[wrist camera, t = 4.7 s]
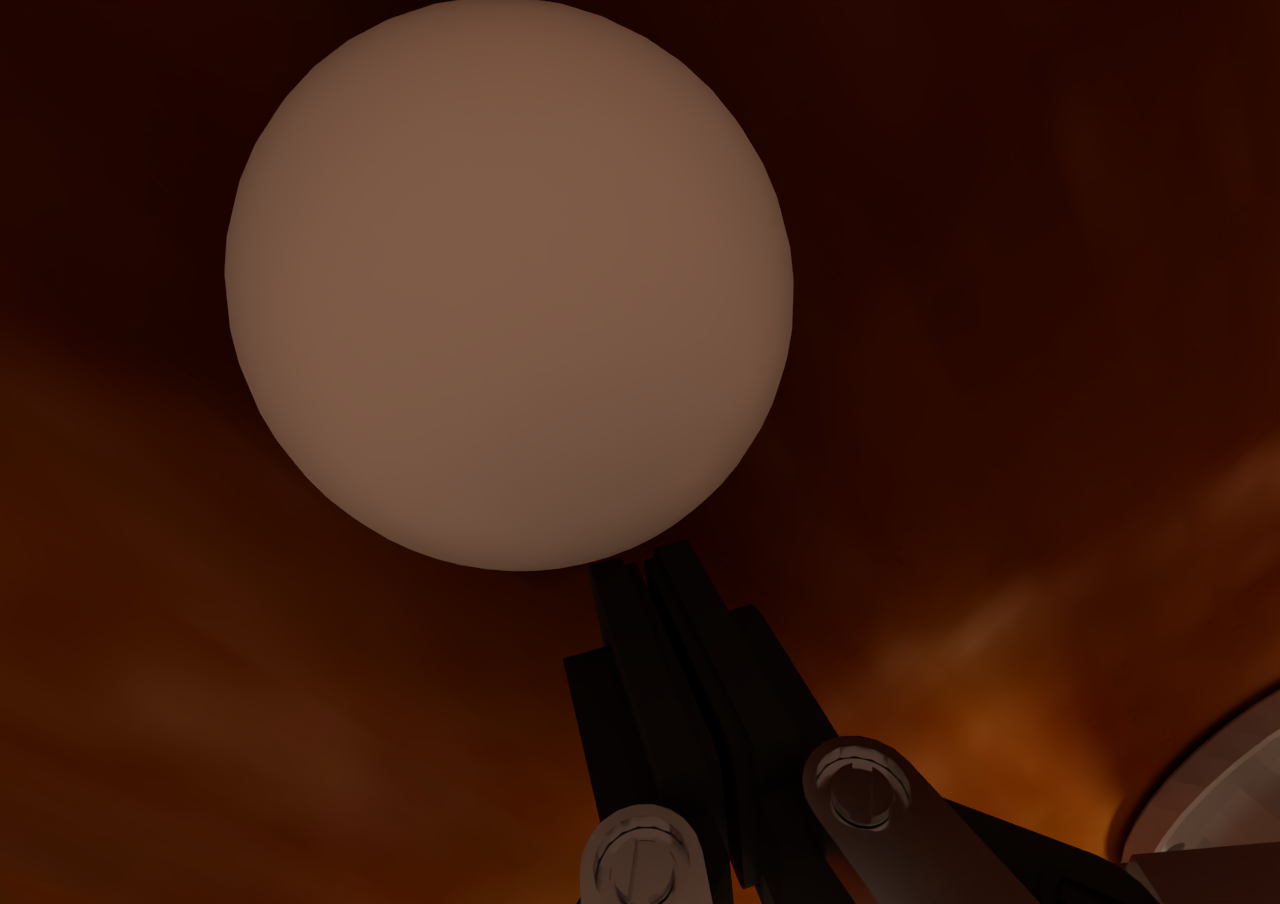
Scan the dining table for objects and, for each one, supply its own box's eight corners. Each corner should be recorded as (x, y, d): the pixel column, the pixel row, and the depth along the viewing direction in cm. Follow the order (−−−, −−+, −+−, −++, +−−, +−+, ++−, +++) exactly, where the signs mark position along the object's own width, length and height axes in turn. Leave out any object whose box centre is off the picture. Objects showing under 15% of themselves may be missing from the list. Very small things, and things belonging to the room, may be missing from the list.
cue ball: (1045, 167, 4) (774, 29, 8) (-75, -68, 3) (283, -90, 7) (758, 683, 7) (670, 397, 12) (192, 690, 6) (324, 364, 10)
